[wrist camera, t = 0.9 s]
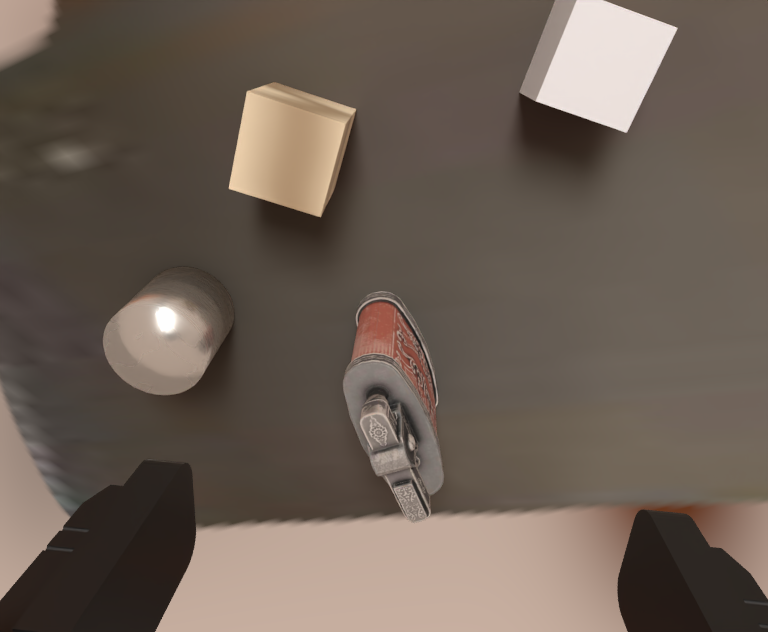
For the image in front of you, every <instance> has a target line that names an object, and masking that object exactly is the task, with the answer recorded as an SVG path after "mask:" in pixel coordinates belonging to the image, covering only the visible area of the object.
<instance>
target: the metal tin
mask: <svg viewBox="0 0 768 632" xmlns="http://www.w3.org/2000/svg"><path fill="white" fill-rule="evenodd" d="M234 316H235V310H234V305H233V301H232V299H231V296H230V294H229V293H228V291H227V289H226V288H225V287H224V286H223V284H222V283H221V282H220V281H218V280H217V279H216V278H215V277H213V276H212V275H210V274H209V273H207V272H205V271H202V270H200V269H197V268H192V267H174V268H170V269H167V270H165V271H163V272H161V273H160V274H158V275H157V276H156V277H155V278H154V279H153V280H152V281H151V282H150V283H148V284H147V285H146V286H145V287H144V288H143V289H142V290H141V291H140V292H139V293H138V294H137V295H136V296H135V297H134V298H133V299H131V300H130V301H129V302H128V303H127V304H126V305H125V306H124V307H123V308H122V309H121V310H120V311H119V312H118V313H117V314H116V315H114V316H113V317H112V319H111V320H110V321H109V322H108V324H107V326H106V328H105V331H104V336H103V347H104V352H105V355H106V358H107V360H108V362H109V364H110V365H111V367H112V368H113V370H114V371H115V372H116V373H117V374H118V375H119V376H120V377H121V378H122V379H123V380H124V381H126V382H127V383H128V384H130V385H131V386H133V387H135V388H137V389H139V390H141V391H144V392H147V393H151V394H156V395H173V394H178V393H181V392H184V391H186V390H188V389H190V388H191V387H193V386H194V385H195V384H196V383H197V382H198V381H199V380H200V378H201V377H202V375H203V373H204V372H205V370H206V369H207V367H208V365H209V364H210V362H211V360H212V359H213V357H214V356H215V354H216V352H217V351H218V349H219V347H220V346H221V344H222V343H223V341H224V339H225V338H226V336H227V335H228V333H229V331H230V330H231V328H232V325H233V322H234Z"/></svg>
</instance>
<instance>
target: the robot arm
mask: <svg viewBox="0 0 768 632" xmlns="http://www.w3.org/2000/svg"><path fill="white" fill-rule="evenodd" d="M195 538H196V523H195V508H194V494H193V479H192V470H191V467H190V465H189V464H188V463H182V462H172V461H162V460H152V459H146V460H144V461H143V462H142V463H141V464H140V465H139V466H138V468H137V469H136V470H135V472H134V473H133V474H132V475H131V477H130V478H129V479H128V481H127V482H126V483H125V484H124V486H117V485H110V486H108V487H107V488H105V489H104V490H102V491H101V492H99V493H97V494H96V495H94V496H93V497H91V498H90V499H88V500H87V501H85V502H84V503H82V505H81V506H80V507H79V508H78V509H77V511H76V512H75V513H74V514H73V515H72V516H71V518H70V519H69V520H68V521H67V522H66V524H65V525H64V527H63V530H62V531H59V532H58V533H57V535H55V537H54V538H53V539H52V540H51V541H50V543H49V544H48V545H47V549H46V550H45V551H44V550H43V551H42V552H41V553H40V554H39V556H38V557H37V558H36V559H35V560H34V561H33V563H32V564H31V565H30V566H29V567H28V569H27V570H26V571H25V572H24V573H23V574H22V576H21V577H20V578H19V579H18V580H17V582H16V583H15V584H14V585H13V586H12V587H11V589H10V590H9V591H8V592H7V593H6V595H5V596H4V597H3V598H2V599H1V600H0V632H155V631H156V629H157V627H158V625H159V623H160V621H161V619H162V617H163V615H164V613H165V611H166V609H167V607H168V605H169V603H170V601H171V599H172V597H173V595H174V593H175V591H176V589H177V587H178V585H179V583H180V581H181V579H182V578H183V575H184V573H185V572H186V570H187V568H188V565H189V563H190V560H191V557H192V554H193V550H194V545H195ZM618 602H619V608H620V612H621V615H622V618H623V620H624V623H625V626H626V628H627V631H628V632H768V599H767V598H766V596H765V595H764V594H763V592H762V590H761V589H760V587H759V586H758V585H757V583H756V581H755V580H754V578H753V577H752V576H751V574H750V573H749V572H748V571H747V570H746V569H745V568H743V567H742V566H741V565H740V564H739V563H738V562H736V561H735V560H734V559H733V558H732V557H731V556H730V555H729V554H727V553H726V552H725V551H724V550H723V549H721V548H713V547H710V546H709V545H708V543H707V541H706V540H705V538H704V537H703V535H702V534H701V532H700V530H699V528H698V527H697V525H696V524H695V522H694V521H693V519H692V518H691V517H690V516H689V515H687V514H682V513H673V512H663V511H653V510H640V511H639V512H638V513H637V515H636V517H635V520H634V523H633V527H632V530H631V533H630V537H629V541H628V544H627V548H626V551H625V555H624V559H623V562H622V566H621V569H620V573H619V577H618Z"/></svg>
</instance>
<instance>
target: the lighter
mask: <svg viewBox="0 0 768 632" xmlns="http://www.w3.org/2000/svg"><path fill="white" fill-rule="evenodd" d="M356 323H357V327H358V328H357V333H356V339H355V344H354V349H353V355H352V360H351V363H350V364H349V365H348V367H347V369H346V371H345V374H344V379H343V390H344V394H345V398H346V402H347V406H348V410H349V414H350V418H351V420H352V423H353V425H354V428H355V430H356V433H357V435H358V438H359V440H360V443H361V445H362V446H363V448H364V450H365V451H366V453H367V455H368V456H369V458H370V462H371V465H372V468H373V470H374V472H375V474H376V475H377V476H382V477H383V478H384V480H385V481H386V482H387V483H388V485H389V486H390V487H391V489H392V492H393V494H394V496H395V498H396V500H397V502H398V504H399V506H400V508H401V510H402V512H403V514H404V516H405V517H406V519H407V520H409V521H410V522H413V523H415V522H420V521H423V520H425V519H427V518H428V517H430V514H431V508H430V495H433V494H434V493H435V492H437V491H438V490H439V489H440V488H441V486H442V484H443V480H444V473H443V463H442V457H441V452H440V446H439V441H438V438H437V427H436V411H435V407H436V406H437V404H438V390H437V383H436V377H435V371H434V367H433V363H432V360H431V357H430V354H429V350H428V347H427V344H426V342H425V340H424V338H423V336H422V334H421V332H420V330H419V328H418V326H417V324H416V322H415V320H414V319H413V317H412V316H411V314H410V313H409V311H408V310H407V308H406V307H405V305H404V304H403V302H402V301H401V300H400V299H399V298H398V297H397V296H396V295H394V294H392V293H390V292H382V291H380V292H375V293H372V294H370V295H368V296H366V297H365V298H364V299H363V300H362V301H361V302H360V304H359V306H358V309H357V314H356Z"/></svg>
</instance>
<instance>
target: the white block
mask: <svg viewBox="0 0 768 632" xmlns="http://www.w3.org/2000/svg"><path fill="white" fill-rule="evenodd" d="M676 30H677V28H676V27H674V26H671V25H668V24H665V23H663V22H660V21H657V20H655V19H652V18H649V17H646V16H644V15H641V14H638V13H636V12H633V11H630V10H627V9H625V8H622V7H619V6H617V5H614V4H611V3H608V2H606V1H603V0H555V3H554V5H553V8H552V10H551V13H550V15H549V18H548V20H547V23H546V26H545V28H544V31H543V33H542V36H541V38H540V41H539V43H538V46H537V49H536V51H535V54H534V56H533V59H532V61H531V64H530V66H529V69H528V71H527V74H526V77H525V79H524V82H523V84H522V87H521V89H520V92H519V93H521V94H523V95H525V96H527V97H529V98H530V99H532V100H534V101H536V102H539V103H542V104H545V105H548V106H551V107H554V108H556V109H559V110H562V111H565V112H568V113H571V114H574V115H577V116H580V117H582V118H585V119H588V120H591V121H594V122H597V123H600V124H603V125H606V126H609V127H611V128H614V129H617V130H620V131H623V132H626V133H627V131H628V129H629V127H630V125H631V123H632V121H633V119H634V117H635V115H636V113H637V110H638V108H639V106H640V104H641V102H642V100H643V98H644V96H645V94H646V92H647V90H648V88H649V86H650V84H651V82H652V80H653V78H654V76H655V74H656V71H657V69H658V67H659V65H660V63H661V61H662V59H663V57H664V55H665V53H666V51H667V49H668V47H669V45H670V43H671V41H672V39H673V37H674V34H675V32H676Z"/></svg>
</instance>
